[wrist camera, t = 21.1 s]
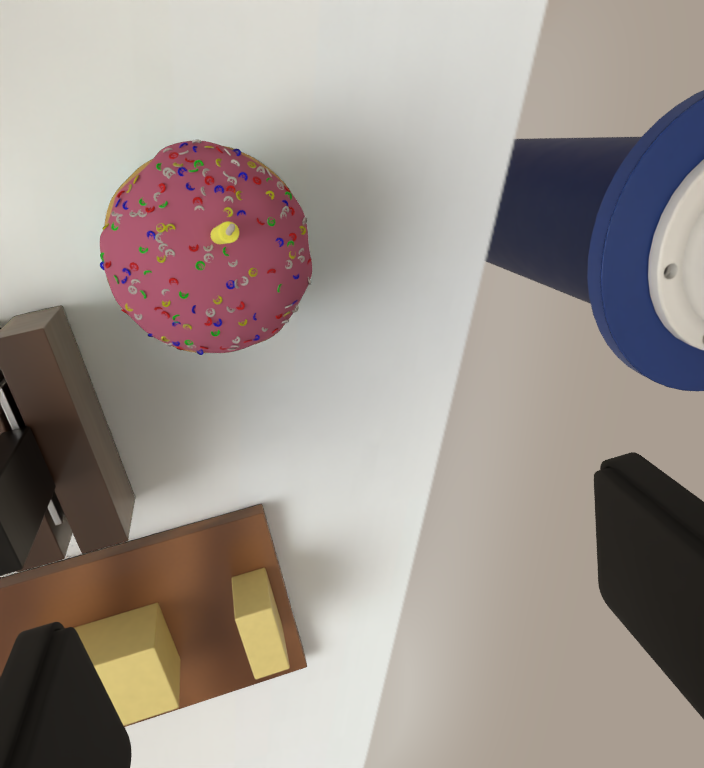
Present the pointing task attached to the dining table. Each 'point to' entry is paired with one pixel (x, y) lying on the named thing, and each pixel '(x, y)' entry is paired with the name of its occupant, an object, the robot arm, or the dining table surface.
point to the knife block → (65, 435)
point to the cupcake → (206, 248)
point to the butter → (135, 662)
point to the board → (164, 597)
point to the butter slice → (259, 623)
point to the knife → (22, 488)
